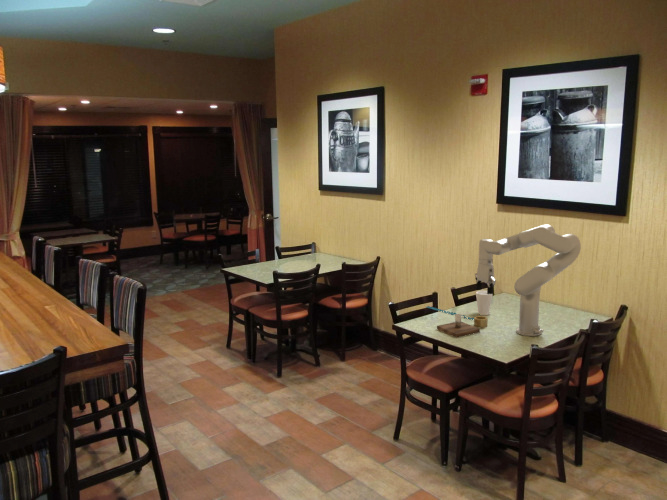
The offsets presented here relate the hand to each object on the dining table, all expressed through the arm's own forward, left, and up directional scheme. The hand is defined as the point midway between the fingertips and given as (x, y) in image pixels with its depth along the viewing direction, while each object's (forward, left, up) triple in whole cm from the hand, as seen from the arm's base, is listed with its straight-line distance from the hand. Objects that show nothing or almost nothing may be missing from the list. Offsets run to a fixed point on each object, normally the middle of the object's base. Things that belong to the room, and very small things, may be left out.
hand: (484, 291), depth 297 cm
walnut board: (-1, +19, -19) cm, 27 cm away
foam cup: (+15, -14, -19) cm, 28 cm away
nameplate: (+27, +2, -19) cm, 33 cm away
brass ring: (-1, +3, -19) cm, 19 cm away
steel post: (-1, +19, -17) cm, 26 cm away
